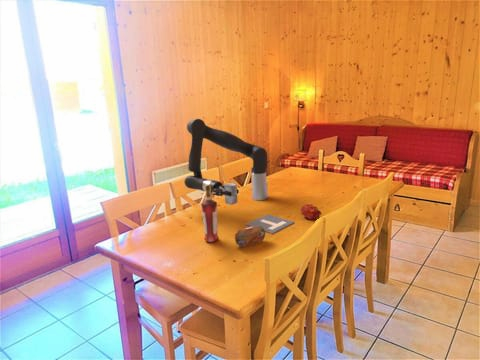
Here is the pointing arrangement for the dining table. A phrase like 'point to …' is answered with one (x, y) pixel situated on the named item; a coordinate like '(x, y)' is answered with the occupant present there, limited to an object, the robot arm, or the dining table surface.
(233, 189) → the grey block
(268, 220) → the letter board
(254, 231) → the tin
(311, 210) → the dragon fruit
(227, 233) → the dining table surface
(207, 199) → the liquor
